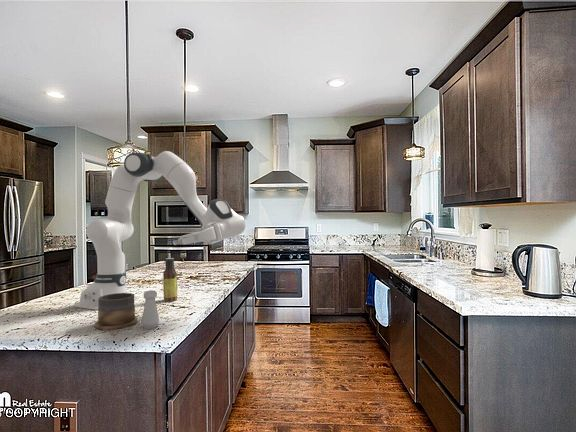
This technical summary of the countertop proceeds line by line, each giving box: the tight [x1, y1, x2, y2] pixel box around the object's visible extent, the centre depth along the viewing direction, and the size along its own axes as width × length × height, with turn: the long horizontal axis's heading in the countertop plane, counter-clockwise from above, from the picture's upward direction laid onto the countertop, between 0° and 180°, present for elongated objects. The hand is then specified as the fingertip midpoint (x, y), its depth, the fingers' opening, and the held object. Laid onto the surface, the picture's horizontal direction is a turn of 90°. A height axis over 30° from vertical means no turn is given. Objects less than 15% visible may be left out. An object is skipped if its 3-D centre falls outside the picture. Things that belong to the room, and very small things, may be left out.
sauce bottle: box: [162, 257, 178, 302], centre depth 156 cm, size 7×6×20 cm
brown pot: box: [94, 292, 139, 331], centre depth 121 cm, size 14×14×10 cm
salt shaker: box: [140, 289, 160, 331], centre depth 116 cm, size 6×6×13 cm
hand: (178, 242), depth 126 cm, fingers open, 8 cm apart
